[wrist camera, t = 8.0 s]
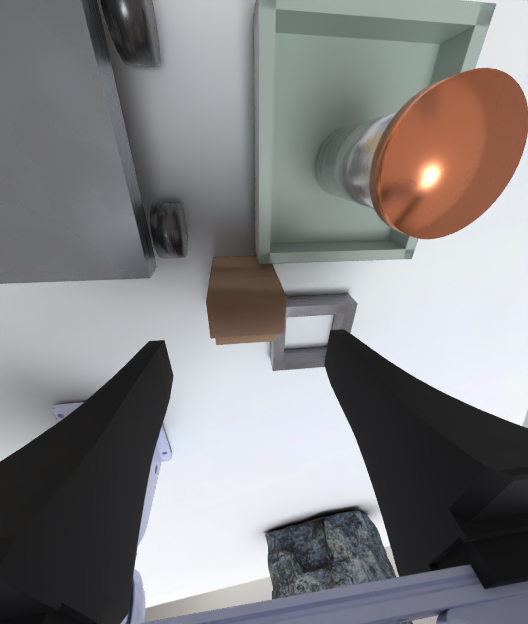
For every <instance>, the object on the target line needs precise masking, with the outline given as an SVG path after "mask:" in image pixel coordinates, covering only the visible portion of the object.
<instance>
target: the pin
mask: <svg viewBox="0 0 528 624" xmlns="http://www.w3.org/2000/svg"><path fill="white" fill-rule="evenodd" d="M527 134H528V107H527V101H526V98H525V95H524V93H523V91H522V89H521V87H520V86H519V84H518V83H517V82H516V81H515V80H514V79H513V78H512V77H511V76H510V75H508V74H507V73H505V72H502V71H500V70H497V69H491V68H479V69H473V70H469V71H465V72H462V73H460V74H457V75H454V76H452V77H449V78H446V79H444V80H441V81H439V82H436V83H434V84H431V85H429V86H428V87H426V88H424V89H423V90H421V91H420V92H418V93H417V94H416V95H414V96H413V97H412V98H411V99H410V100H408V101H407V102H406V103H405V104H404V105H403V106H402V107H401V108H400V110H399V111H398V112H395V113H392V114H389V115H385V116H382V117H378V118H375V119H371V120H368V121H364V122H361V123H357V124H354V125H351V126H347V127H344V128H340V129H338V130H336V131H334V132H332V133H331V134H330V135H329V136H328V137H327V138H326V139H325V140H324V141H323V142H322V144H321V146H320V148H319V150H318V152H317V155H316V159H315V176H316V179H317V182H318V184H319V185H320V187H321V188H322V189H323V190H324V191H325V192H326V193H328V194H330V195H333V196H336V197H339V198H342V199H345V200H348V201H351V202H354V203H357V204H360V205H363V206H366V207H369V208H372V209H375V211H376V213H377V215H378V217H379V218H380V219H381V220H382V221H383V222H384V223H385V224H386V225H387V226H389V227H390V228H392V229H394V230H396V231H399V232H401V233H404V234H406V235H409V236H411V237H414V238H419V239H435V238H440V237H444V236H447V235H450V234H453V233H455V232H457V231H459V230H461V229H462V228H464V227H466V226H467V225H469V224H470V223H472V222H473V221H474V220H476V219H477V218H478V217H480V216H481V215H482V214H483V213H484V212H485V211H486V210H487V209H488V208H489V207H490V206H491V205H492V204H493V203H494V202H495V201H496V199H497V198H498V197H499V196H500V194H501V193H502V192H503V190H504V189H505V187H506V186H507V184H508V183H509V181H510V179H511V178H512V176H513V174H514V172H515V170H516V168H517V166H518V164H519V161H520V159H521V156H522V154H523V150H524V147H525V144H526V139H527Z"/></svg>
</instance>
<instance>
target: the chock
mask: <svg viewBox="0 0 528 624" xmlns="http://www.w3.org/2000/svg"><path fill="white" fill-rule="evenodd" d="M286 302H287V297H286V295H285V293H284V290H283V288H282V286H281V283H280V281H279V279H278V276H277V274H276V272H275V269H274V267H273V265H272V263H270V264H259V262H258V258H257V256H237V257H213V261H212V268H211V274H210V281H209V287H208V293H207V300H206V305H207V313H208V321H209V329H210V337H211V338H215V339H216V345H223V344H238V343H252V342H267V341H276V337H277V334H284V332H285V317H286Z"/></svg>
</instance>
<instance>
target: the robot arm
mask: <svg viewBox="0 0 528 624" xmlns="http://www.w3.org/2000/svg"><path fill="white" fill-rule="evenodd" d="M324 365H325V368H326V371H327V375H328V378H329V381H330V384H331V386H332V388H333V390H334V392H335V395H336V397H337V399H338V401H339V403H340V405H341V407H342V409H343V412H344V414H345V416H346V418H347V420H348V422H349V424H350V426H351V428H352V431H353V433H354V435H355V438H356V440H357V443H358V445H359V448H360V451H361V454H362V456H363V459H364V462H365V465H366V468H367V471H368V474H369V477H370V480H371V483H372V486H373V489H374V492H375V495H376V498H377V501H378V505H379V508H380V511H381V514H382V517H383V521H384V524H385V528H386V531H387V535H388V538H389V542H390V546H391V549H392V552H393V556H394V560H395V564H396V568H397V571H398V574H399V577H396V578H391V579H385V580H379V581H374V582H368V583H363V584H357V585H351V586H346V587H340V588H334V589H329V590H323V591H318V592H312V593H306V594H301V595H295V596H290V597H284V598H278V599H273V600H268V601H261V602H256V603H251V604H245V605H239V606H234V607H228V608H222V609H217V610H211V611H205V612H200V613H194V614H188V615H183V616H178V617H172V618H166V619H160V620H155V621H149V622H144V616H145V593H144V588H143V583H142V578H141V575H140V573H139V572H138V571H137V570H134V566H135V559H136V555H137V547H138V545H139V543H140V542H141V540H142V538H143V536H144V533H145V531H146V527H147V524H148V519H149V515H150V510H151V506H152V501H153V497H154V492H155V488H156V483H157V479H158V474H159V470H160V465H161V462H162V461H169V460H171V458H172V453H171V450H170V447H169V444H168V441H167V438H166V435H165V432H164V429H163V425H162V424H163V420H164V417H165V413H166V410H167V406H168V403H169V399H170V394H171V388H172V381H173V372H172V368H171V364H170V360H169V356H168V352H167V348H166V344H165V340H160V341H149V342H148V343H147V344H146V345H145V346H144V347H143V348H142V349H141V350H140V351H139V352H138V353H137V354H136V355H135V356H134V357H133V358H132V359H131V360H130V361H129V362H128V363H127V364H126V365H125V366H124V367H123V368H122V369H121V370H120V371H119V372H118V373H117V374H116V375H115V376H114V377H112V378H111V379H110V380H109V381H108V382H107V383H106V384H105V385H104V386H102V387H101V388H100V389H99V390H98V391H97V392H96V393H95V394H93V395H92V396H91V397H90V398H89V399H88V400H86V401H85V402H80V403H68V404H58V405H55V406H54V407H53V408H52V410H51V411H52V413H53V414H54V416H55V417H56V419H57V420H58V423H57V424H56V425H54V426H53V427H51V428H50V429H48V430H47V431H45V432H44V433H43V434H41V435H40V436H38V437H37V438H35V439H34V440H32V441H31V442H30V443H28V444H27V445H25V446H24V447H22V448H21V449H19V450H18V451H16V452H15V453H13V454H11V455H10V456H8V457H7V458H5V459H4V460H2V461H0V624H397V623H402V622H407V621H412V620H417V619H422V618H427V617H432V616H437V615H439V616H438V618H437V624H528V428H525V427H523V426H520V425H517V424H514V423H512V422H509V421H506V420H504V419H502V418H499V417H497V416H494V415H492V414H489V413H487V412H484V411H482V410H480V409H477V408H475V407H473V406H470V405H468V404H466V403H464V402H462V401H460V400H458V399H455V398H453V397H451V396H449V395H447V394H445V393H443V392H441V391H439V390H437V389H435V388H433V387H431V386H430V385H428V384H426V383H424V382H422V381H421V380H419V379H417V378H415V377H414V376H412V375H410V374H408V373H407V372H405V371H404V370H402V369H401V368H399V367H397V366H396V365H394V364H393V363H391V362H390V361H388V360H387V359H385V358H384V357H382V356H381V355H379V354H378V353H377V352H375V351H374V350H372V349H371V348H370V347H368V346H367V345H365V344H364V343H363V342H361V341H360V340H359V339H357V338H356V337H354V336H353V335H352V334H350V333H349V332H347V331H346V330H344V329H338V330H330V336H329V341H328V347H327V352H326V357H325V363H324Z"/></svg>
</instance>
